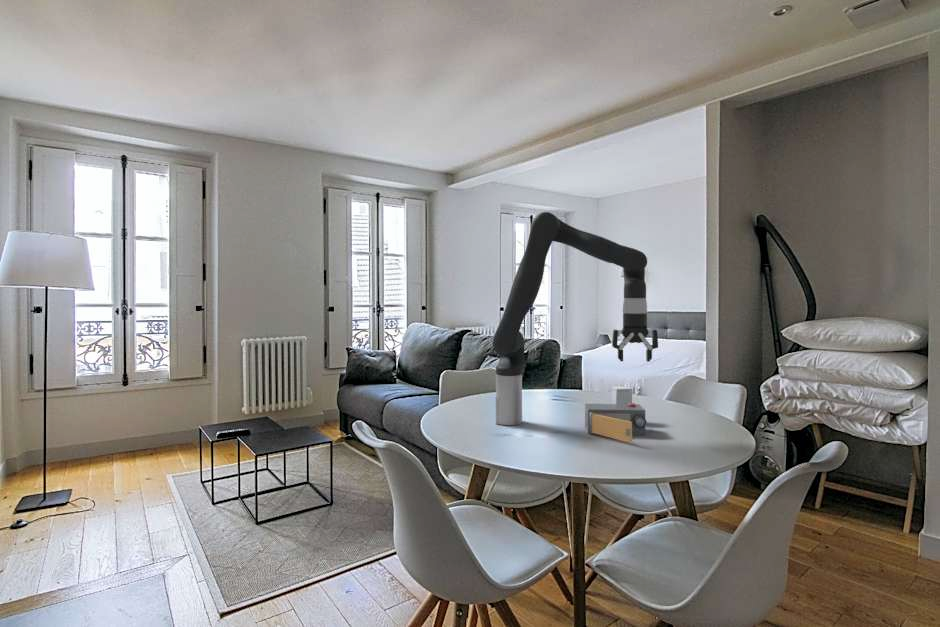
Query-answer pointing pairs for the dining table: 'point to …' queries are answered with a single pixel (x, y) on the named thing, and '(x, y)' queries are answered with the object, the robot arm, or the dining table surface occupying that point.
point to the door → (610, 427)
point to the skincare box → (621, 395)
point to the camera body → (619, 414)
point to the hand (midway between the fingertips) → (634, 361)
